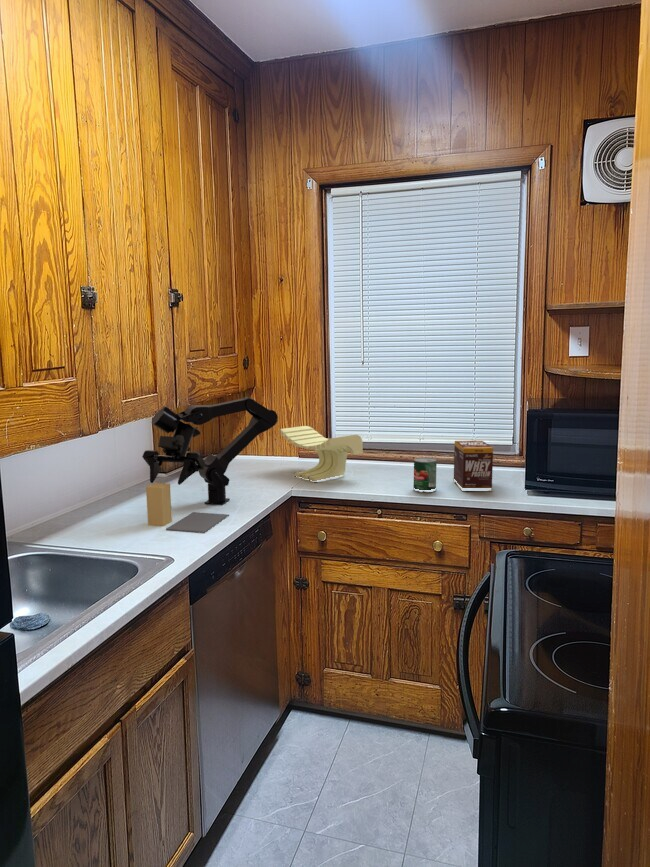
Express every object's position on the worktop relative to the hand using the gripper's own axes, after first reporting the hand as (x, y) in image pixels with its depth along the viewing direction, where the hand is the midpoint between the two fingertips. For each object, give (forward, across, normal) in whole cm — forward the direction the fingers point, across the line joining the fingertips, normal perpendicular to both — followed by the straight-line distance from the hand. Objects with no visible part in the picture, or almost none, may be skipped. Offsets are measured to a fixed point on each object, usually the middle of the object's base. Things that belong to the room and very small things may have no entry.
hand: (164, 483), depth 187 cm
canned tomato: (-29, +72, +45) cm, 89 cm away
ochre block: (+11, 0, +5) cm, 12 cm away
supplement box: (-36, +87, +52) cm, 108 cm away
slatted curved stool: (-37, +30, +53) cm, 72 cm away
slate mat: (+9, +11, +7) cm, 16 cm away
